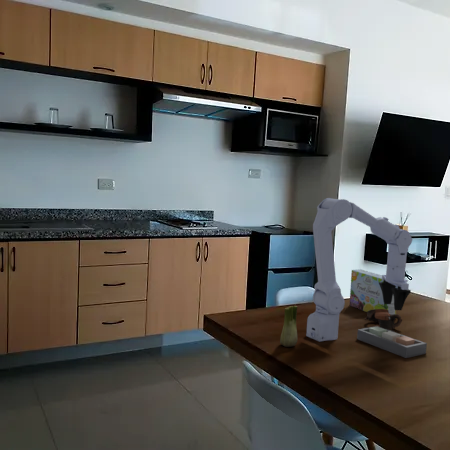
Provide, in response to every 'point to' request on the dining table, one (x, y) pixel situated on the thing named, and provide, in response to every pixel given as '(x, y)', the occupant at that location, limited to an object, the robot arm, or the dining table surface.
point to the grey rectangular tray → (392, 344)
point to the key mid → (390, 335)
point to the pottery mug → (383, 318)
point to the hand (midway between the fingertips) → (392, 306)
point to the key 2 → (405, 340)
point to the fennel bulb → (289, 327)
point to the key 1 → (377, 331)
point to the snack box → (368, 292)
